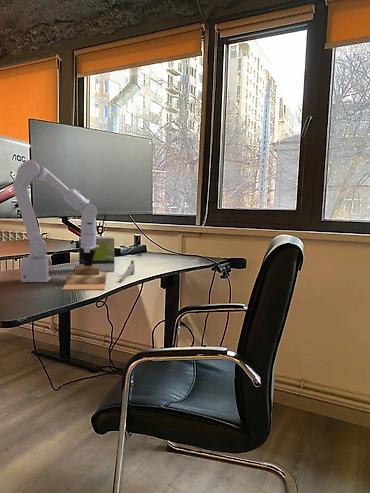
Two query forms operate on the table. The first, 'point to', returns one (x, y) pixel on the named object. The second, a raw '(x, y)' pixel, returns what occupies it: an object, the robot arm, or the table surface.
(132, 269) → the caliper
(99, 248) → the tea box
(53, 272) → the table surface
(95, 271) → the walnut tile
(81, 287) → the terracotta mat
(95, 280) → the birch deck
